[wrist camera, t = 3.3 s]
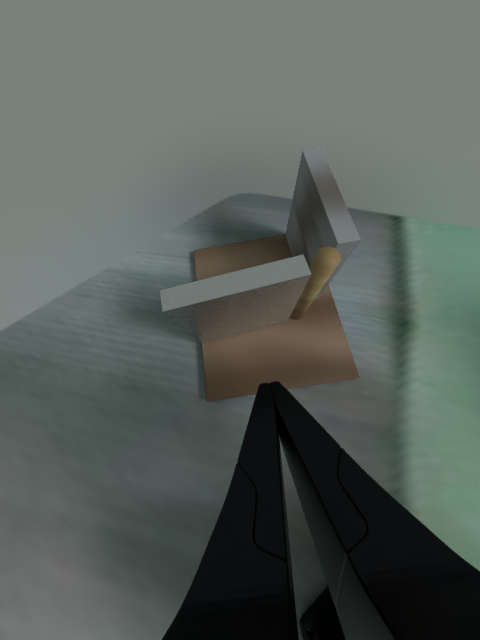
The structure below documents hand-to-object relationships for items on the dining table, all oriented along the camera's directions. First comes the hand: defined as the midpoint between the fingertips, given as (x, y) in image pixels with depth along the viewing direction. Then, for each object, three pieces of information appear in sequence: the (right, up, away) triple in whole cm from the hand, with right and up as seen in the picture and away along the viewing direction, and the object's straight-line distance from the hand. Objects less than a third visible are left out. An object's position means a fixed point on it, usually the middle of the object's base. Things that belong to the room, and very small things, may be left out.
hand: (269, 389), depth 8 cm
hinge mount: (+1, +4, +10) cm, 11 cm away
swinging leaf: (-1, +2, +8) cm, 9 cm away
